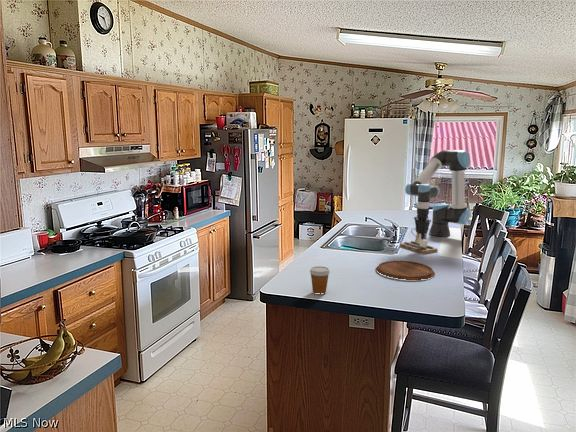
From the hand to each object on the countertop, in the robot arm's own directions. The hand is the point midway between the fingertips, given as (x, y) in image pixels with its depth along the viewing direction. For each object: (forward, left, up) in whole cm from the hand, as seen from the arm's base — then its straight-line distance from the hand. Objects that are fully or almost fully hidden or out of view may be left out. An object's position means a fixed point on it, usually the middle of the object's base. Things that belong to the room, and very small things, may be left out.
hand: (420, 243), depth 300 cm
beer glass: (+103, +36, -5) cm, 109 cm away
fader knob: (0, +2, -2) cm, 3 cm away
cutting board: (+43, +31, -5) cm, 53 cm away
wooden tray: (0, -2, -5) cm, 5 cm away
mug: (-15, -16, -5) cm, 23 cm away
